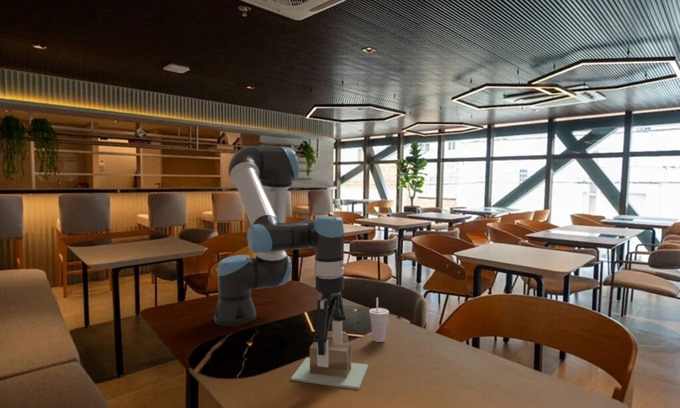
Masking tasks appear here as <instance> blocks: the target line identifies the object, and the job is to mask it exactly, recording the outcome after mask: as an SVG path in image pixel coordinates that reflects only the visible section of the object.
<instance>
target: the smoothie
mask: <svg viewBox="0 0 680 408" xmlns="http://www.w3.org/2000/svg"><path fill="white" fill-rule="evenodd" d="M375 298H376V299H375V301H376V304H375V305H376V307H375V308H374V307H373V308H371V309H369V311H368V315H369V318H370V323H371V324H370V325H371V334H372V341H373V340H374V341H376V342H383V341H385V342H386V336H387V328H388V327H387V326H388V317H389V315H390V311H389V310H388V309H387V308H383V307H379V297H375ZM374 341H373V342H374ZM376 342H375V343H376ZM383 343H384V342H383Z"/></svg>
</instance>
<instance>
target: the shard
mask: <svg viewBox="0 0 680 408" xmlns="http://www.w3.org/2000/svg"><path fill="white" fill-rule="evenodd" d="M327 340H328V341H331V342H333V337H332V330H330V331H329V330H328V336H327ZM342 343H350V342H349V335H348V334H347V332H346V331H343V330H342Z"/></svg>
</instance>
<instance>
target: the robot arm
mask: <svg viewBox="0 0 680 408" xmlns="http://www.w3.org/2000/svg"><path fill="white" fill-rule="evenodd" d="M227 169H228V177H229V179H230V181H231V183H232V184H233V185H234V186H236V188H237V191H238V193H239V197H240V200H241V202H242V204H243V205H242V206H243V208H244V210H245V212H246V216H247V218H248V221H249V223H250V226H248V228H247V233H246V240H247V246H248V249H249V251H251V252H252V253H255V257H253V258H252V257H250V255H249V254H236V255H232V256H228V257H225V258H223V259H221V260H220V261H219V262H218V264H217V289H218V291H217V292H218V294H217V295H218V301H217V304H216V308H215V311H214V315H213V322H214V323H215V325H217V326H220V327H239V326H245V325H247V324H251V323H252V322H255V320H256V319H257V310H256V308H255V305H254V303H253V299H252V290H259V289H265V288H273V287H274V288H276V287H279V286H284V285H286V284H287V283H288V282H289V281H290V278H291V274H292V260H291V258H290V256H289V255H288V254H287V252H286V251H290V250H291V251H293V250H303V249H305V250H306V249H314V255H315V257H314V258H315V260H314V263H315V264H314V274H315V275H316V277H315V290H316V291H317V292H318V293H320V294H321V295H322V296H321V299H318V300H317V302H316V303H317V306H316V307H317V309H316V310H317V311H316V318H315V325H314V333H313V337H312V341H313V343H314V342H317V366H320V367H328V340H327V336H328V331H329V329H330V323H332V324H331V325H332V326H331V327H332V329H331V331H332V337H333V342H341V343H342V331H343V321H346V316H345V307H344V302H343V296H342V292H343V291H344V289H345V276H344V274H345V272H344V271H345V268H346V266H347V264H346V263H344V262H345V261H344V260H345V254H344V253H345V229H344V220H343V218H342V217H340V216H337V215H335V216H334V215H329V216H328V215H324V216H322V215H321V216H318V217H316V218H315V219H306V220H302V221H294V222H293V221H292V222H286V212H287V198H288V190H289V189H290V188H291V187H292V186H293V181H295V180H297V179H298V178H299V174H300V165H299V159H298V157H297V154H296V152H295V150H294V149H292V148H291V147H286V146H274V145H273V146H272V145H271V146H268V145H267V146H265V145H264V146H263V145H262V146H259V145H250V146H245V147H243V148H241V149H239V150H238V151H237V152H235V154H233V156H232V157H231V159H230V162H229V164H228V168H227ZM332 318H333V320H332V322H331V319H332Z"/></svg>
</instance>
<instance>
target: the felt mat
mask: <svg viewBox="0 0 680 408" xmlns="http://www.w3.org/2000/svg"><path fill="white" fill-rule="evenodd" d="M368 368H369V364H368V363H367V364H366V363H359V362H358V363H357V362H351V370H350V372H349V374H348V376H347V378H343V377H335V376H327V375H319V374H311V373H310V357H308V356H306V357H305V359H304V360H303V362H302V363H301V364H300V365H299V367H298V368H297V369H296V371H295V372H294V373H293V375H292V376H291V377H290V380H291V381H293V382H301V383H308V384H309V383H310V384H313V385H314V384H316V385H322V386H323V385H324V386H329V387H337V388H345V389H352V390H360V388H361V387H362V386H361V385H362V383H363V380H364V378H365V375H366V374H367V371H368Z"/></svg>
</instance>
